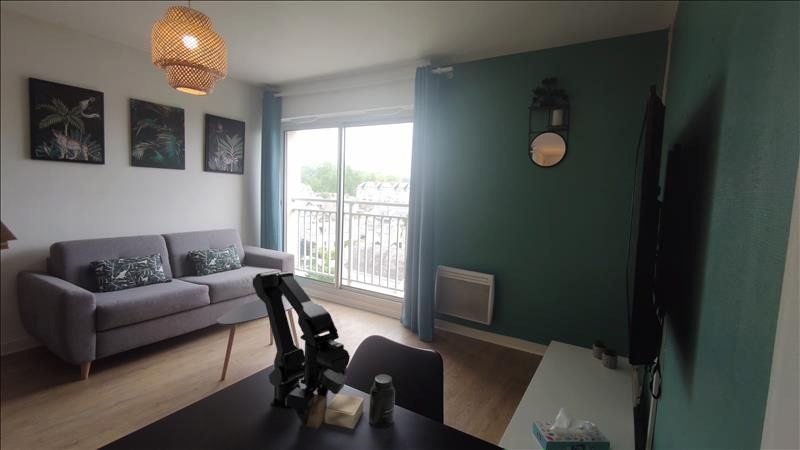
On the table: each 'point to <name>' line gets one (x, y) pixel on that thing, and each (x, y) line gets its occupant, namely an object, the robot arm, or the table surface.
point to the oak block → (344, 411)
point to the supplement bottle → (382, 401)
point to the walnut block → (317, 412)
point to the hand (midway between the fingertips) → (313, 414)
